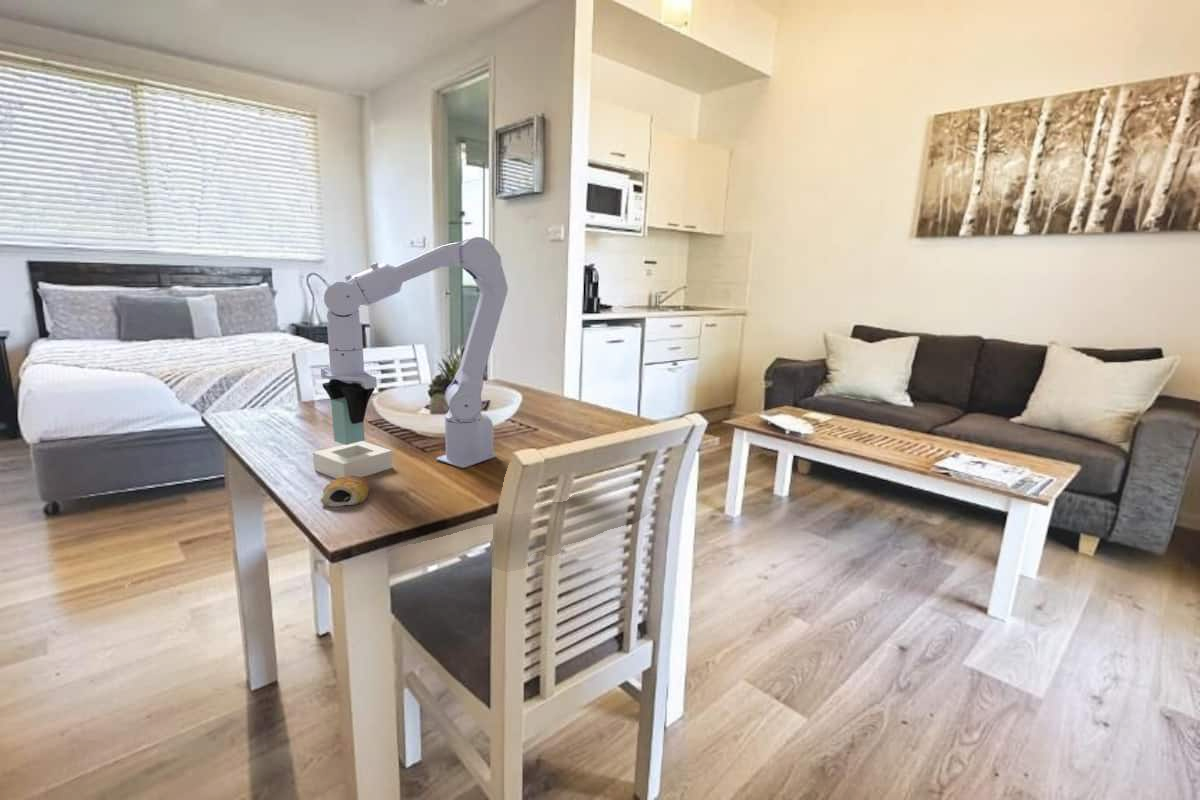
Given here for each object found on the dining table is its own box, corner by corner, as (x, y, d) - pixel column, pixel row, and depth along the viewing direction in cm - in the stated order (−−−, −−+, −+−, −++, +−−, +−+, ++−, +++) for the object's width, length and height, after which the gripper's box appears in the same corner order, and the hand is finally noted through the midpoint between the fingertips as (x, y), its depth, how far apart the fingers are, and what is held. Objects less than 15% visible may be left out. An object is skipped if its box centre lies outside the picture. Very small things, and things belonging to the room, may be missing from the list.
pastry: (336, 487, 101) (335, 466, 100) (376, 486, 102) (375, 466, 101) (319, 509, 92) (317, 486, 91) (363, 508, 93) (361, 486, 92)
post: (352, 436, 110) (350, 396, 108) (364, 440, 108) (361, 399, 106) (334, 441, 107) (331, 399, 105) (346, 445, 105) (343, 403, 103)
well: (361, 456, 116) (360, 440, 115) (392, 467, 111) (391, 450, 110) (314, 470, 108) (312, 452, 107) (345, 482, 103) (343, 464, 102)
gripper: (302, 346, 105) (308, 417, 108) (349, 355, 97) (354, 432, 100) (338, 343, 110) (343, 411, 114) (385, 351, 103) (388, 424, 106)
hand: (350, 420), depth 107 cm, fingers closed on post, 4 cm apart
